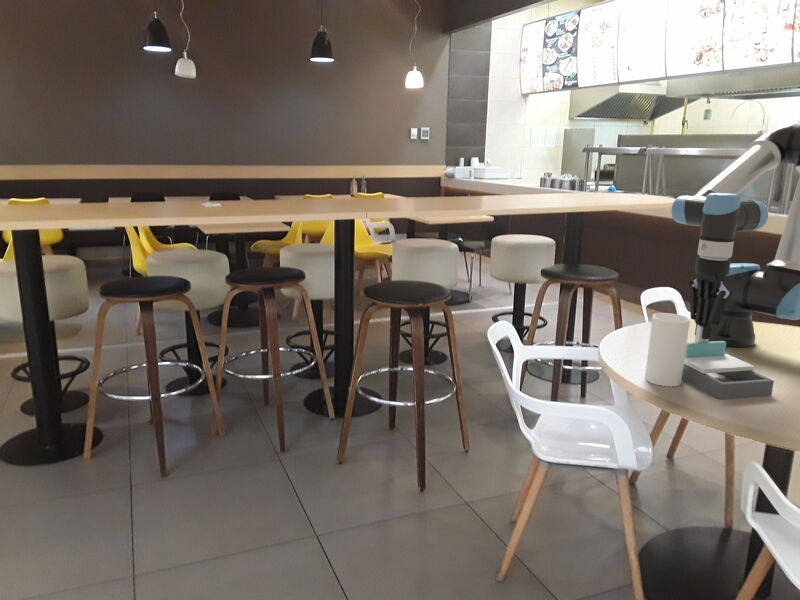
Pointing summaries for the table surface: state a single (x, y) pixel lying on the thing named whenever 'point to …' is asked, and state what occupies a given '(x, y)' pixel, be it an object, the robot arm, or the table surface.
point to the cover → (712, 358)
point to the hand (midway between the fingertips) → (700, 350)
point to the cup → (667, 349)
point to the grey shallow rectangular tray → (730, 383)
